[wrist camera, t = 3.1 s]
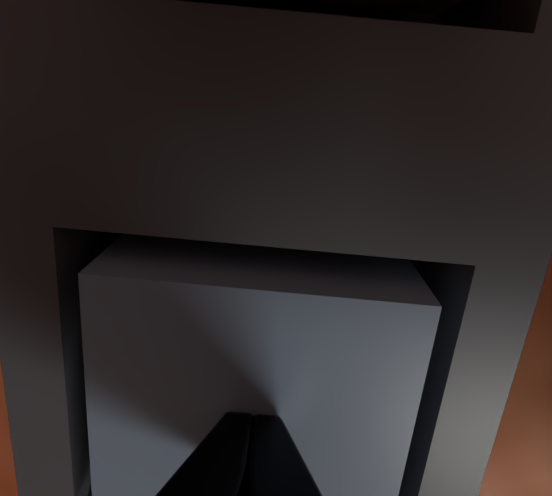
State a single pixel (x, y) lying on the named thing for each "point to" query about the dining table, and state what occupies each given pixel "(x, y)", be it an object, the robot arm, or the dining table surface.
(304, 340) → the slate blue button
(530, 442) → the dining table surface
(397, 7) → the terracotta button
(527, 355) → the dining table surface
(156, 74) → the button board
